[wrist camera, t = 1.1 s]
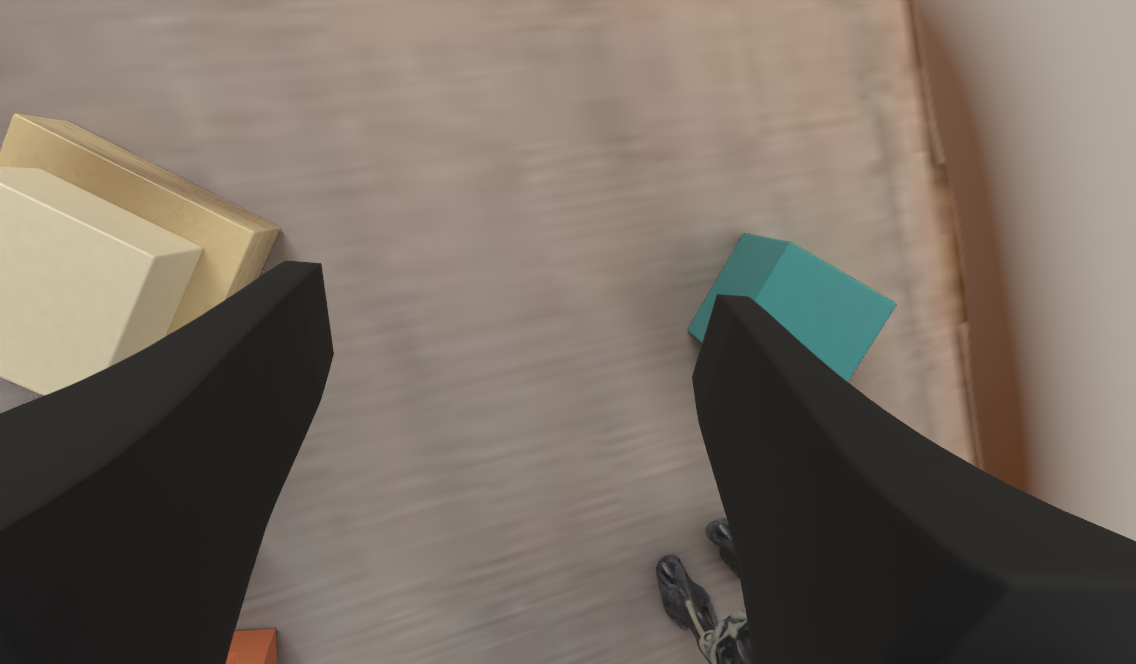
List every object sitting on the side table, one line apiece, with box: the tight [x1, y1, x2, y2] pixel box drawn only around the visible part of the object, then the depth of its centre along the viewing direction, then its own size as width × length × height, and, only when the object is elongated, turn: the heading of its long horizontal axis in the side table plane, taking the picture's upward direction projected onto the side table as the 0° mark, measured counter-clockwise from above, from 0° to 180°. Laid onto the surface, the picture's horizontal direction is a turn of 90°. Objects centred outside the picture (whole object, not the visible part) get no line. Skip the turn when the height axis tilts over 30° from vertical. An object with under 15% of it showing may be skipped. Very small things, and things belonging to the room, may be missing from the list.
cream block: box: [0, 167, 203, 396], centre depth 20 cm, size 6×6×3 cm
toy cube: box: [688, 233, 897, 382], centre depth 24 cm, size 4×4×4 cm
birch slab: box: [0, 114, 280, 337], centre depth 23 cm, size 8×8×2 cm
